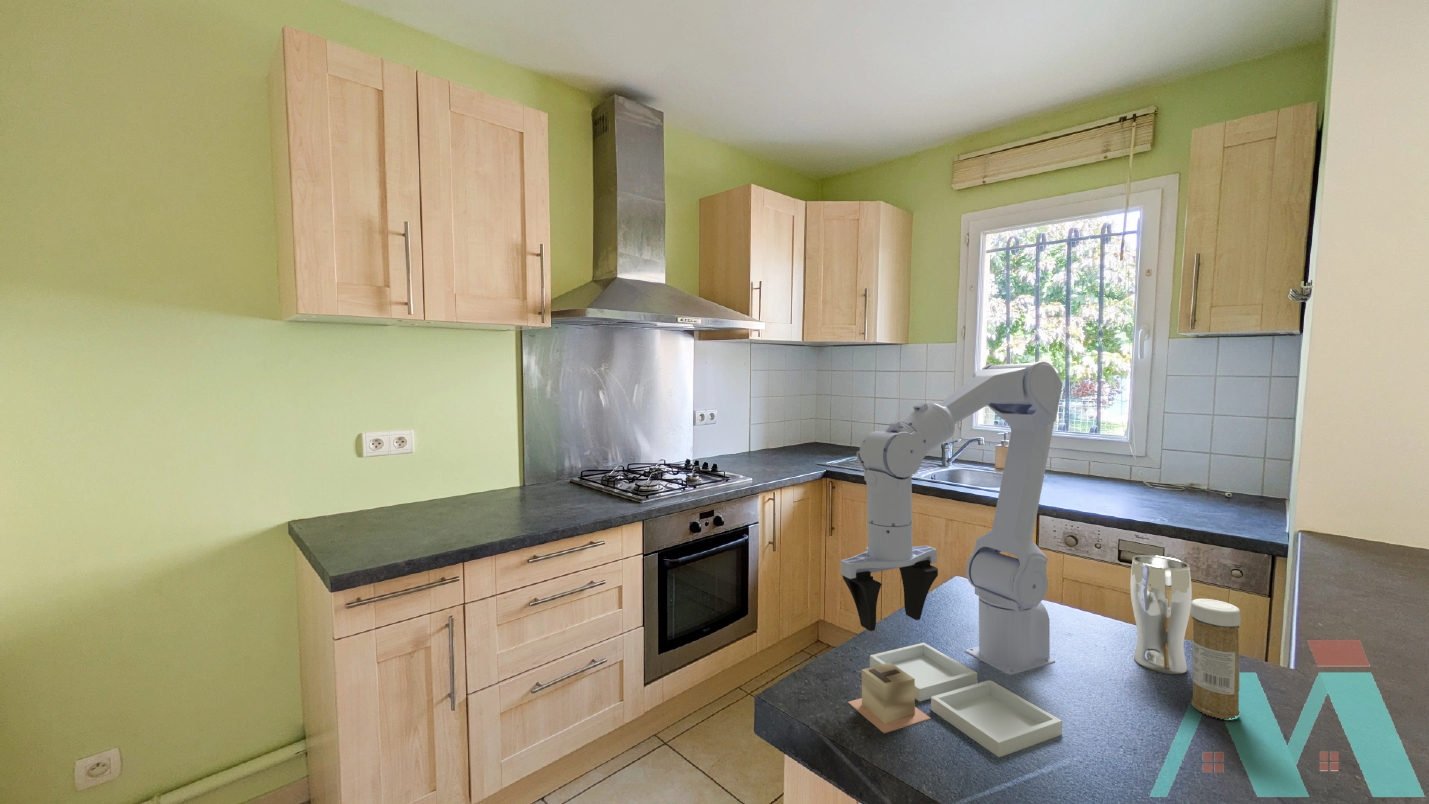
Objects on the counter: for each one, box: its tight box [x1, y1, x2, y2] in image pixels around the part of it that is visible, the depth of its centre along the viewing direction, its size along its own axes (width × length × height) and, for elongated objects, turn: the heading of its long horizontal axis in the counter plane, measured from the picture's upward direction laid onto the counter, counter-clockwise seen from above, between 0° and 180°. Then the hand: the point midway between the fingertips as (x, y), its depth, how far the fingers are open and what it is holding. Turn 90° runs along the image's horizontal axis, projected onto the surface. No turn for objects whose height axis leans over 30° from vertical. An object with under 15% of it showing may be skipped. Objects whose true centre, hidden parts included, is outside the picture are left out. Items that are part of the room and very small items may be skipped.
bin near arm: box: [869, 642, 979, 702], centre depth 79 cm, size 10×10×2 cm
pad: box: [847, 697, 932, 734], centre depth 71 cm, size 7×7×1 cm
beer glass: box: [1129, 554, 1193, 675], centre depth 82 cm, size 7×7×15 cm
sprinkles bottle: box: [1190, 598, 1242, 720], centre depth 70 cm, size 5×5×14 cm
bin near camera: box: [930, 679, 1063, 758], centre depth 68 cm, size 10×10×2 cm
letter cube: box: [861, 663, 916, 724], centre depth 70 cm, size 4×4×5 cm
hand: (890, 622), depth 76 cm, fingers open, 7 cm apart
